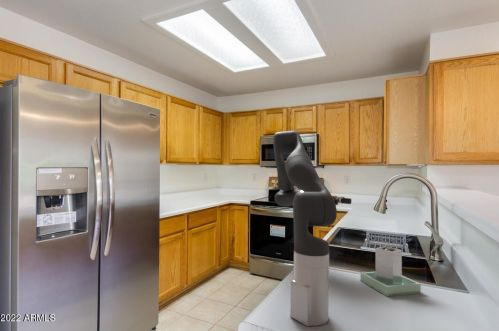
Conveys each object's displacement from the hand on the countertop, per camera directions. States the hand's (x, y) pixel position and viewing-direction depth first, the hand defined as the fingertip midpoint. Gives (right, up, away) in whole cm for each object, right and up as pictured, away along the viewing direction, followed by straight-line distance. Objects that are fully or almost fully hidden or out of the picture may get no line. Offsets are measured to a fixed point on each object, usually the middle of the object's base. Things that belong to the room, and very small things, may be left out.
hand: (344, 201), depth 105 cm
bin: (+12, -28, -11) cm, 32 cm away
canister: (+11, -27, -11) cm, 31 cm away
